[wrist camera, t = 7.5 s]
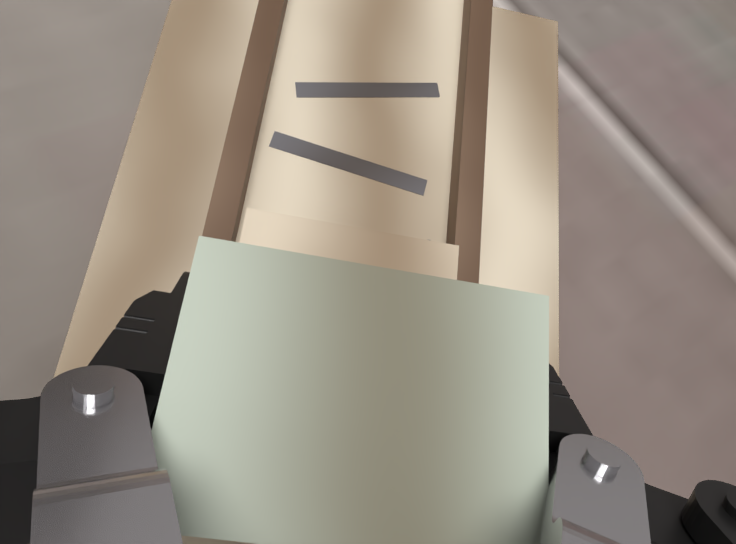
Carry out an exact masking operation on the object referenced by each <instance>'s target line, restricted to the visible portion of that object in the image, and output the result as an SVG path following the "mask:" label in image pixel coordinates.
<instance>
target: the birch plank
mask: <svg viewBox="0 0 736 544" xmlns="http://www.w3.org/2000/svg"><path fill="white" fill-rule="evenodd" d="M246 208H252V209H258V210H263V211H269V212H274V213H280V214H286V215H291V216H297V217H302V218H308V219H313V220H319V221H325V222H330V223H336V224H341V225H347V226H352V227H358V228H364V229H369V230H375V231H380V232H386V233H391V234H397V235H403V236H408V237H414V238H419V239H425V240H430V241H436V242H442V243H447V244H453V245H458V246H459V255H458V271H457V280H460V281H465V282H471V283H477V284H483V285H489V286H495V287H500V288H506V289H512V290H518V291H524V292H529V293H535V294H541V295H547V296H549V364H550V365H552V366H553V367H554V369H555V371H556V373H557V374H558V376H559V221H558V21H553V20H549V19H545V18H540V17H536V16H532V15H527V14H523V13H519V12H514V11H510V10H506V9H502V8H497V7H493V0H172V1H171V4H170V7H169V10H168V13H167V17H166V20H165V23H164V26H163V29H162V33H161V36H160V39H159V42H158V45H157V49H156V52H155V55H154V58H153V61H152V65H151V68H150V71H149V74H148V77H147V81H146V84H145V87H144V90H143V93H142V97H141V100H140V103H139V106H138V109H137V113H136V116H135V119H134V122H133V125H132V129H131V132H130V135H129V138H128V141H127V145H126V148H125V151H124V154H123V157H122V161H121V164H120V167H119V170H118V173H117V177H116V180H115V183H114V186H113V189H112V193H111V196H110V199H109V202H108V205H107V209H106V212H105V215H104V218H103V221H102V225H101V228H100V231H99V234H98V237H97V241H96V244H95V247H94V250H93V253H92V257H91V260H90V263H89V266H88V269H87V273H86V276H85V279H84V282H83V285H82V289H81V292H80V295H79V298H78V301H77V304H76V308H75V311H74V314H73V317H72V320H71V324H70V327H69V330H68V333H67V336H66V340H65V343H64V346H63V349H62V352H61V356H60V359H59V362H58V365H57V368H56V372H55V375H54V377H56V376H58V375H59V374H61V373H64V372H66V371H69V370H72V369H75V368H79V367H84V366H88V364H89V363H90V361H91V360H92V359H93V357H94V356H95V354H96V353H97V352H98V350H99V349H100V347H101V346H102V345H103V343H104V342H105V340H106V339H107V338H108V336H109V335H110V333H111V332H112V331H113V329H115V328H116V325H117V324H118V322H119V321H120V319H121V318H122V317H124V314H125V312H126V311H127V310H128V308H129V307H130V305H131V304H132V303H133V301H134V300H136V299H138V298H140V297H141V296H143V295H145V294H147V293H149V292H151V291H153V290H156V291H162V292H168V293H171V292H172V290H173V289H174V287H175V285H176V284H177V282H178V280H179V279H180V277H181V275H182V274H183V272H185V271H186V272H190V270H191V266H192V262H193V258H194V254H195V250H196V246H197V242H198V238H199V236H204V237H210V238H216V239H221V240H227V241H233V242H239V241H240V236H241V232H242V227H243V222H244V218H245V213H246Z"/></svg>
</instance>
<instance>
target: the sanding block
mask: <svg viewBox="0 0 736 544" xmlns="http://www.w3.org/2000/svg"><path fill="white" fill-rule="evenodd" d="M458 255H459V246H458V245H453V244H447V243H442V242H436V241H430V240H425V239H419V238H414V237H408V236H403V235H397V234H391V233H386V232H380V231H375V230H369V229H364V228H358V227H352V226H347V225H341V224H336V223H330V222H325V221H319V220H313V219H308V218H302V217H297V216H291V215H286V214H280V213H274V212H269V211H263V210H258V209H252V208H246V213H245V218H244V222H243V227H242V232H241V236H240V241H239V242H233V241H227V240H221V239H216V238H210V237H204V236H199V238H198V242H197V246H196V250H195V254H194V258H193V262H192V266H191V270H190V274H189V279H188V283H187V287H186V291H185V295H184V299H183V303H182V307H181V311H180V316H179V320H178V324H177V328H176V332H175V336H174V340H173V344H172V348H171V353H170V357H169V361H168V365H167V369H166V373H165V377H164V381H163V385H162V390H161V394H160V398H159V402H158V406H157V410H156V414H155V418H154V422H153V426H152V431H151V433H152V438H153V443H154V449H155V454H156V460H157V465H158V469H162V468H166V470H167V472H168V475H169V478H170V483H171V488H172V493H173V498H174V503H175V507H176V512H177V517H178V522H179V527H180V532H181V537H182V542H183V544H540V540H541V532H542V524H543V516H544V508H545V499H546V493H547V490H548V486H549V296H547V295H541V294H535V293H529V292H524V291H518V290H512V289H506V288H500V287H495V286H489V285H483V284H477V283H471V282H465V281H460V280H457V271H458Z"/></svg>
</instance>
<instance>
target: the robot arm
mask: <svg viewBox="0 0 736 544" xmlns="http://www.w3.org/2000/svg"><path fill="white" fill-rule="evenodd" d="M189 274H190V272H186V271H185V272H183V274H182V275H181V277H180V279H179V280H178V282H177V284H176V285H175V287H174V289H173V290H172V292H171V293H168V292H162V291H156V290H153V291H151V292H149V293H147V294H145V295H143V296H141V297H140V298H138V299H136V300H134V301H133V303H132V304H131V305H130V307H129V308H128V310H127V311H126V312H125V314H124V317H122V318H121V319H120V321H119V322H118V324H117V325H116V328H115V329H113V331H112V332H111V333H110V335H109V336H108V338H107V339H106V340H105V342H104V343H103V345H102V346H101V347H100V349H99V350H98V352H97V353H96V354H95V356H94V357H93V359H92V360H91V361H90V363H89V364H88V366H84V367H79V368H75V369H72V370H69V371H66V372H64V373H61V374H59V375H58V376H56V377H54V378H53V379H52V380H51V381H49V382H48V383H47V384H46V386H45V387H44V389H43V390H42V393H41V396H39V397H34V398H29V399H20V400H5V401H0V544H183V542H182V537H181V532H180V527H179V522H178V517H177V512H176V507H175V503H174V498H173V493H172V488H171V483H170V478H169V475H168V472H167V470H166V468H162V469H158V465H157V460H156V454H155V449H154V443H153V438H152V433H151V431H152V426H153V422H154V418H155V414H156V410H157V406H158V402H159V398H160V394H161V390H162V385H163V381H164V377H165V373H166V369H167V365H168V361H169V357H170V353H171V348H172V344H173V340H174V336H175V332H176V328H177V324H178V320H179V316H180V311H181V307H182V303H183V299H184V295H185V291H186V287H187V283H188V279H189ZM540 544H736V486H733V485H731V484H728V483H725V482H721V481H716V480H705V481H702V482H700V483H698V484H697V485H696V487H695V489H694V491H693V492H692V494H691V496H690V497H689V499H686V498H683V497H681V496H678V495H675V494H672V493H670V492H667V491H664V490H661V489H659V488H656V487H653V486H650V485H648V484H646V483H644V477H643V474H642V472H641V470H640V468H639V467H638V465H637V464H636V463H635V461H634V460H633V459H632V458H631V457H630V456H629V455H628V454H626V453H625V452H624V451H622V450H621V449H620V448H618V447H617V446H615V445H613V444H611V443H610V442H608V441H605V440H603V439H601V438H598V437H595V436H593V435H592V433H591V431H590V430H589V428H588V426H587V424H586V423H585V421H584V419H583V418H582V416H581V414H580V412H579V411H578V409H577V407H576V405H575V404H574V402H573V400H572V399H570V395H569V393H568V392H567V390H566V388H565V386H562V381H561V380H560V378H559V376H558V374H557V373H556V371H555V369H554V367H553V366H552V365H550V364H549V486H548V490H547V493H546V499H545V508H544V516H543V524H542V532H541V540H540Z"/></svg>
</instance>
